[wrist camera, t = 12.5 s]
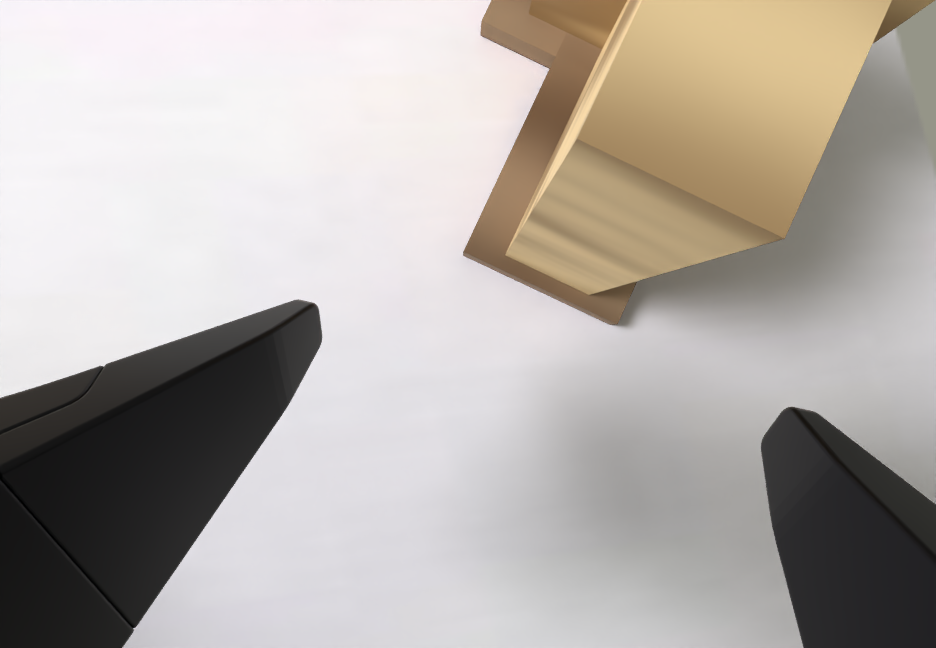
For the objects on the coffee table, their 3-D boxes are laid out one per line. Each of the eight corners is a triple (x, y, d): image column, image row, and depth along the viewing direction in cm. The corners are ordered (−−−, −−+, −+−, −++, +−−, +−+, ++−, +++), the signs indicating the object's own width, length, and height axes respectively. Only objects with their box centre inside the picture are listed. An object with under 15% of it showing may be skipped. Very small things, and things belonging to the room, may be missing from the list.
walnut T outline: (680, 358, 18) (691, 359, 17) (391, 221, 17) (388, 216, 17) (817, 53, 18) (834, 40, 17) (536, -83, 18) (540, -103, 17)
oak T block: (662, 330, 17) (965, 325, 7) (430, 219, 17) (389, 48, 7) (787, 57, 17) (1250, -330, 7) (560, -54, 17) (709, -607, 7)
